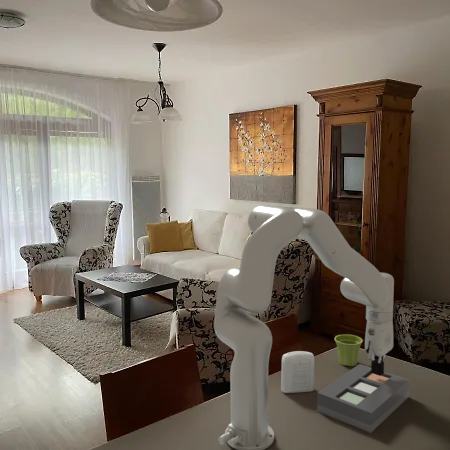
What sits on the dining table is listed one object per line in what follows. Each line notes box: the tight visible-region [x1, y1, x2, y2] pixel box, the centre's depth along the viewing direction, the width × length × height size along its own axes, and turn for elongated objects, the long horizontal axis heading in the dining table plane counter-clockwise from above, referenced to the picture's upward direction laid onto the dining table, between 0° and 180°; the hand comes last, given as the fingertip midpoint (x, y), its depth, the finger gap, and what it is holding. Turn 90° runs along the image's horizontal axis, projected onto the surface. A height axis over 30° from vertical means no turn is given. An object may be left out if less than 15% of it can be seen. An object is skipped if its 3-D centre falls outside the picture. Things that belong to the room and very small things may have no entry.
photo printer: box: [280, 350, 315, 394], centre depth 141 cm, size 10×4×12 cm, turn 98°
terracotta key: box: [366, 373, 389, 384], centre depth 138 cm, size 6×6×2 cm
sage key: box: [340, 392, 364, 405], centre depth 127 cm, size 6×6×2 cm
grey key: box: [353, 382, 377, 394], centre depth 133 cm, size 6×6×2 cm
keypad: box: [316, 363, 411, 434], centre depth 133 cm, size 25×16×6 cm, turn 137°
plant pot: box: [334, 334, 364, 367], centre depth 160 cm, size 9×9×9 cm
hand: (377, 373), depth 138 cm, fingers closed
